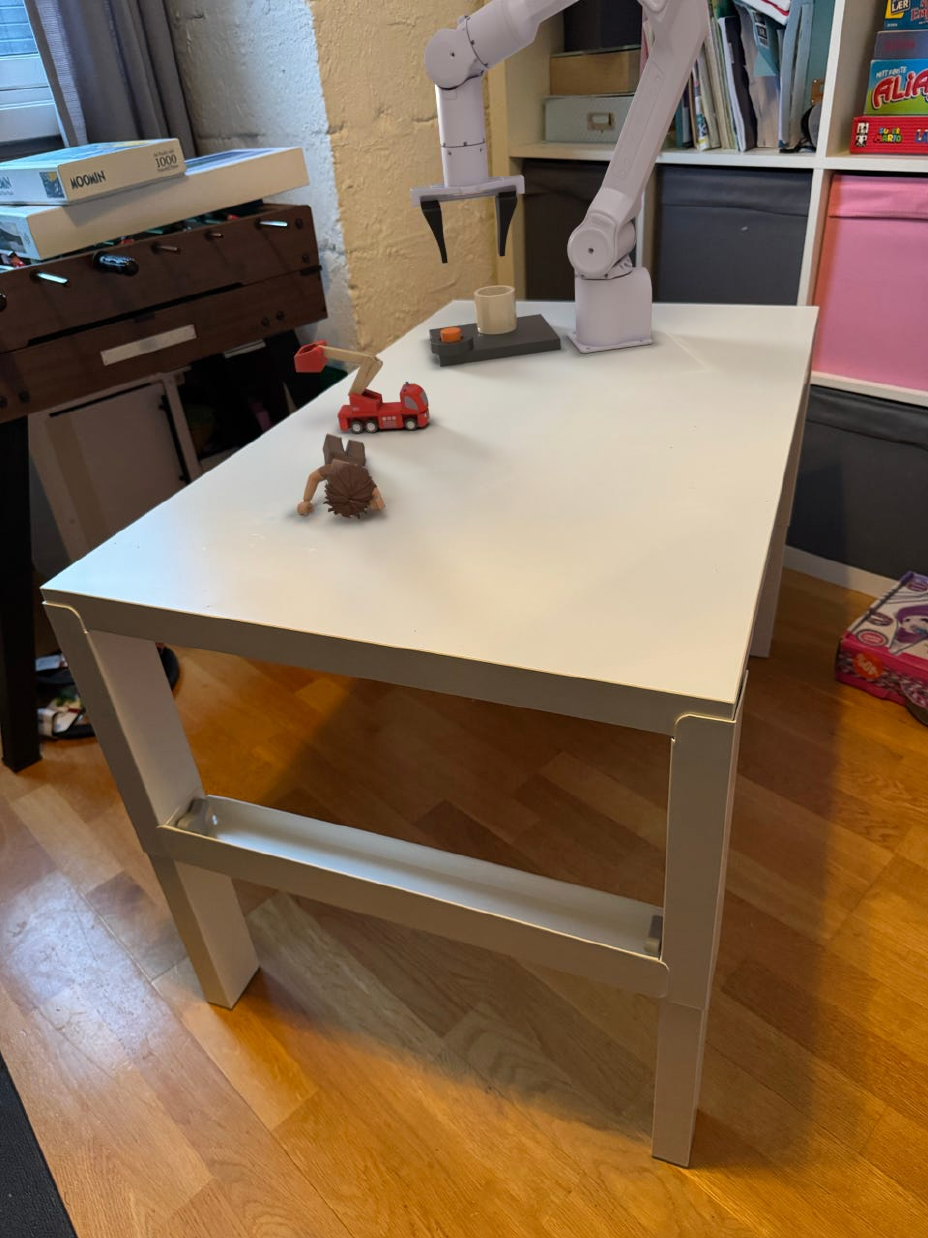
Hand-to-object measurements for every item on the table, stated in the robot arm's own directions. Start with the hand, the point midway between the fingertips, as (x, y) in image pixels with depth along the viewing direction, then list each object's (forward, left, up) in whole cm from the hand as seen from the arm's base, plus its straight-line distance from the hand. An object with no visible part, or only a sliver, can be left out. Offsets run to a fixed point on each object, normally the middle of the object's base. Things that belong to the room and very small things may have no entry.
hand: (473, 258), depth 118 cm
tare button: (+5, +9, -8) cm, 13 cm away
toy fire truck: (+17, +28, -11) cm, 34 cm away
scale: (-1, +5, -10) cm, 12 cm away
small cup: (-2, +3, -9) cm, 10 cm away
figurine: (+21, +44, -11) cm, 50 cm away
